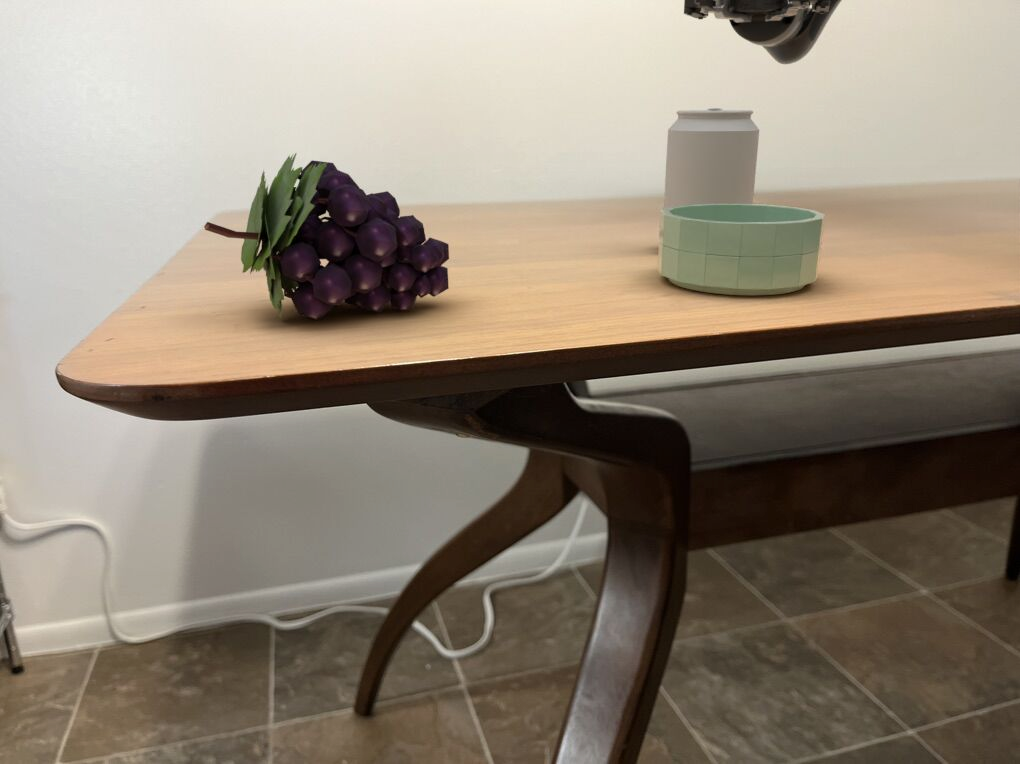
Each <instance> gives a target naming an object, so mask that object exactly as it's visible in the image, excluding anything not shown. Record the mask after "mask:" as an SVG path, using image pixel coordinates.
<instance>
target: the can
mask: <svg viewBox="0 0 1020 764" xmlns="http://www.w3.org/2000/svg"><path fill="white" fill-rule="evenodd" d="M752 114H754V110H751V109H749V110H744V109H743V110H742V109H740V110H739V109H723V108H721V107H711V108H707V109H705V110H703V109H701V110H699V109H698V110H697V109H696V110H693V109H692V110H677V111H676V115H677V119H676V120H675V121H674V122H673V124H672V125H670V127H669V128H668V129H667V139H666V140H667V143H666V159H665V160H666V161H665V178H664V194H663V195H664V197H663V210H664V209H666V208H669V207H674V206H681V205H692V204H712V203H739V204H740V203H741V204H754V193H755V185H756V183H755V182H756V173H757V172H756V171H757V161H758V151H759V150H758V149H759V140H760V139H759V138H760V128H759V127H758V126H757V125H756V123H755V122H754V121H753V120H752Z"/></svg>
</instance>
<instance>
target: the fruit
mask: <svg viewBox="0 0 1020 764" xmlns="http://www.w3.org/2000/svg"><path fill="white" fill-rule="evenodd" d="M296 157H297V152H295V153H293V154H292V155H291V156H290V154H289V155H288V156H287V158H286V159H285V161H284V162H283V163H282V166H281V167H280V168H279V170H278V171H277V174H276V176H274V178H273V180H272V182H271V184H270V186H269V185H267V179H266V177H265V176H266V175H265V171H264V170H265V169H263V170H262V173H261V177H260V183H259V185H258V186H257V189H256V194H255V195H254V198H253V200H252V201H251V206H250V210H249V215H248V218H247V224H246V229H245V231H236V230H233V229H230V228H227V227H224V226H221V225H218V224H215V223H212V222H210V221H207V222H206V223H205V225H204V226H203V227H204V230H205V231H207V232H211V233H214V234H217V235H220V236H223V237H226V238H229V239H242V240H243V243H242V246H241V253H240V261H241V262H242V265H243V268H242V271H241V273H243V274H244V273H246V272H248V270H250V272H249V273H250V275H252V273H253V272H254V271H255V273H257V272H258V273H259V272H260V271H262V269H263V270H264V272H265V277H266V284H267V289H268V293H269V295H268V296H269V301H270V302H271V305H272V307H273V308H274V310H275V311H277V312H278V316H279V319H280V320H282V313H283V304H282V303H283V302H282V301H285V297H286V298H287V299H291V301H292V304H293V306H294V308H295V310H296V312H297V314H298V316H300V317H305V318H308V319H312V320H316V321H319V320H321V318H322V317H324V316H325V315H326V314H328V313H329V312H330V311H331V310H332V309H333V307H334V305H337V306H339V305H341V304H342V303H343V302H344V304H346V305H349V306H353V307H356V308H359V309H361V308H362V309H364V310H367V311H371V312H375V313H378V314H381V313H382V311H383V310H384V309H385V307H386V306H387V305H389V303H390V306H391V308H393V309H399V310H413V308H414V305H415V302H416V301H417V297H419V298H420V299H423V298H424V297H426V296H427V295H429V296H432V297H433V298H434V297H436V296H439V295H440V294H442V293H444V292H445V291H447V290H449V287H450V286H449V269H448V267H446V266H443V264H445V263H446V262H447V261H448V260H450V247H449V243H447V242H446V241H445V242H444V241H442V240H439V239H436V238H432V237H428V239H427V238H426V233H425V226H424V223H423V222H422V221H420V220H419V219H417V218H416V217H415V215H414V214H411V215H403V216H401V209H400V206H399V204H398V202H397V199H396V197H395V196H394V195H392V194H391V192H389V191H388V190H386V191H381V192H375V193H373V192H371V193H369V194H366V192H365V190H364V189H363V188H360V186H359V185H358V184H357V183H356V182H355V180H354V179H353V178H352V177H351V175H350V174H349V173H346V172H345V171H342V170H339V169H338V168H337V167H336V165H335V163H334V162H329V161H322V160H321V161H320V160H313V159H312V160H311V161H309V163H307V164H306V166H305V167H304V168H303V167H302V166H300V167H298V168H296V169H295V167H293V165H294V163H295V160H296ZM297 181H298V183H297ZM296 183H297V186H295V184H296ZM266 185H267V186H266ZM269 187H270V188H269ZM327 213H328V216H323V215H325V214H327ZM322 216H323V217H322ZM320 217H321V218H320ZM321 260H326V261H327V263H326V265H325V266H324V265H323V264H322V261H321Z"/></svg>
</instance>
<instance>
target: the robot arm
mask: <svg viewBox="0 0 1020 764" xmlns="http://www.w3.org/2000/svg"><path fill="white" fill-rule="evenodd" d="M842 1H843V0H684V1H683V2H684V3H683V14H684V15H686V16H688V17H692V18H694V19H698V20H704V19H706V18H707V17H709V14H713V15H714V17H715V19H716V20H728V21H729V23H730V26H731V27H732V30H733V31H734V32H735V33H736V34H737V35H738V36H739V37H741V38H742V39H743V40H746V41H748V42H750V43H751V44H754V45H756V46H760V47H761V46H762V48H763V49H765V51H766V52H767V53H768V55H770V56H771V57H772V58H773V60H775V62H777V63H779V64H781V65H791V64H794V63H797V62H799V61H800V60H802V59H803V58H805V57H806V56H807V55H808V54H809V53H810V52H811V50H812V49H813V48H814V46H815V44H816V43H817V42H818V40H819V38H820V37H821V35H822V33H823V31H824V30H825V28H826V26H827V24H828V22H829V20H830V19H831V17H832V16H833V14H834V12H835V11H836V9H838V6H839V5H840V4H841V2H842Z"/></svg>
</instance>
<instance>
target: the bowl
mask: <svg viewBox="0 0 1020 764" xmlns="http://www.w3.org/2000/svg"><path fill="white" fill-rule="evenodd" d="M825 220H826V214H825V213H822V212H819V211H817V210H815V209H808V208H803V207H799V206H787V205H778V204H766V203H765V204H763V203H761V204H760V203H753V204H741V203H740V204H739V203H712V204H692V205H681V206H674V207H669V208H666V209H664V208H663V209H662V210H660V214H659V231H658V233H659V235H658V251H657V253H658V254H657V255H658V256H657V257H658V258H657V271H658V272H659V274H660V275H661V276H662V277H665V278H668V281H669V283H671V284H673V285H675V286H677V287H679V288H683V289H687V290H691V291H694V292H695V291H696V292H701V293H706V294H715V295H726V296H727V295H728V296H745V297H746V296H748V297H749V296H751V297H752V296H753V297H754V296H755V297H756V296H775V295H784V294H789V293H793V292H798V291H801V290H802V289H803V288H804V287H805V286H806V285H809V284H813V283H815V282H816V280H817V279H818V276H819V274H820V273H819V271H820V264H821V263H820V262H821V254H822V245H823V237H824V231H825V230H824V229H825V222H826V221H825Z"/></svg>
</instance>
